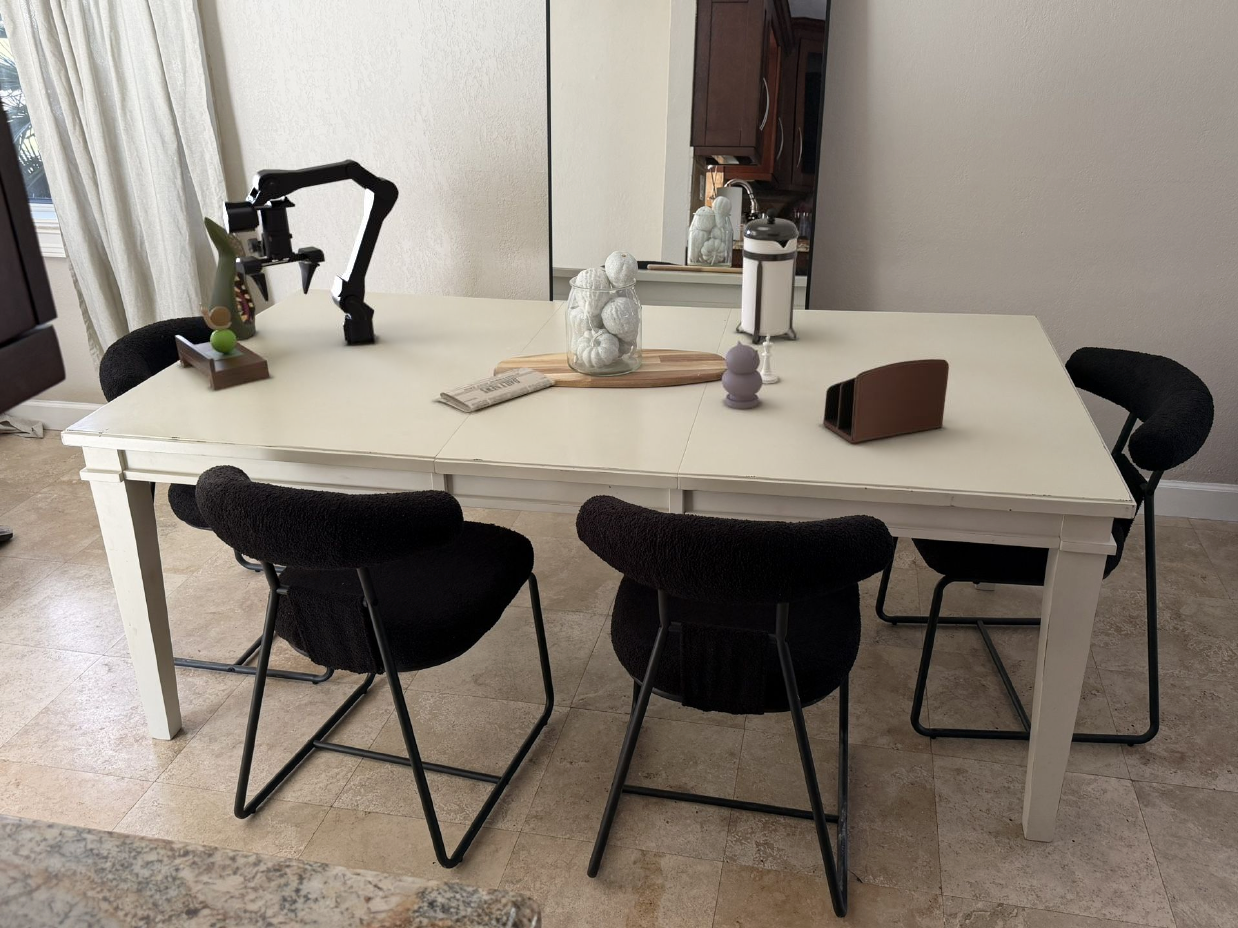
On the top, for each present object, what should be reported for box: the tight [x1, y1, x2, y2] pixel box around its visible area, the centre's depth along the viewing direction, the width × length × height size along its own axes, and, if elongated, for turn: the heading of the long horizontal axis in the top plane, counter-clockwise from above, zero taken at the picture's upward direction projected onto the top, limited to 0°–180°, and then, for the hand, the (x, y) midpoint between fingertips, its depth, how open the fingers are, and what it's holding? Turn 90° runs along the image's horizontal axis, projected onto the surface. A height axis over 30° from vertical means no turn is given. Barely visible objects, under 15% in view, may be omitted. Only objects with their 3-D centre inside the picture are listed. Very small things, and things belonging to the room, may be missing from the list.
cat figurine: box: [721, 340, 764, 410], centre depth 199 cm, size 8×8×12 cm
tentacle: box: [203, 216, 257, 340], centre depth 243 cm, size 9×12×30 cm
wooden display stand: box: [174, 334, 271, 391], centre depth 223 cm, size 12×22×7 cm, turn 39°
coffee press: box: [735, 208, 800, 345], centre depth 237 cm, size 17×16×30 cm
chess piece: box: [759, 334, 779, 385], centre depth 212 cm, size 5×5×10 cm
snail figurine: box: [198, 302, 238, 353], centre depth 221 cm, size 5×6×12 cm
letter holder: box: [822, 358, 950, 444], centre depth 186 cm, size 10×20×14 cm, turn 111°
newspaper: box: [436, 366, 556, 413], centre depth 209 cm, size 23×12×2 cm, turn 135°
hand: (286, 297), depth 231 cm, fingers open, 9 cm apart
